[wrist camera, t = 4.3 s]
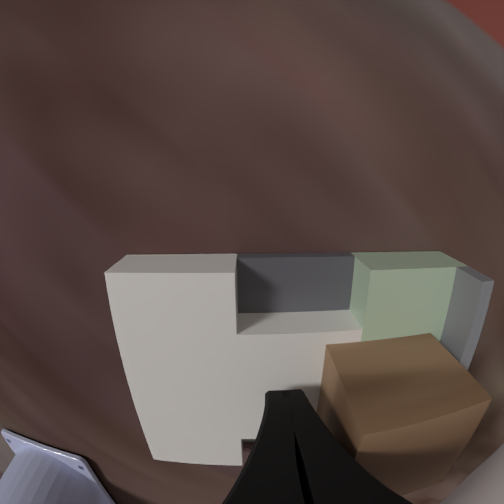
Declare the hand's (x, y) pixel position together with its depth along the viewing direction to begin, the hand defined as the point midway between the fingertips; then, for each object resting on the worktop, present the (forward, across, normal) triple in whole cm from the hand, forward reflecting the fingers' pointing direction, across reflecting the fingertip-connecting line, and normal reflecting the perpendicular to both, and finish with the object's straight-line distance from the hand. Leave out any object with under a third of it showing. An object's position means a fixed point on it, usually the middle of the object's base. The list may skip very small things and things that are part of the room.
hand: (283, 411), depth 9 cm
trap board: (+3, -1, 0) cm, 3 cm away
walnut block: (+1, -3, 0) cm, 4 cm away
